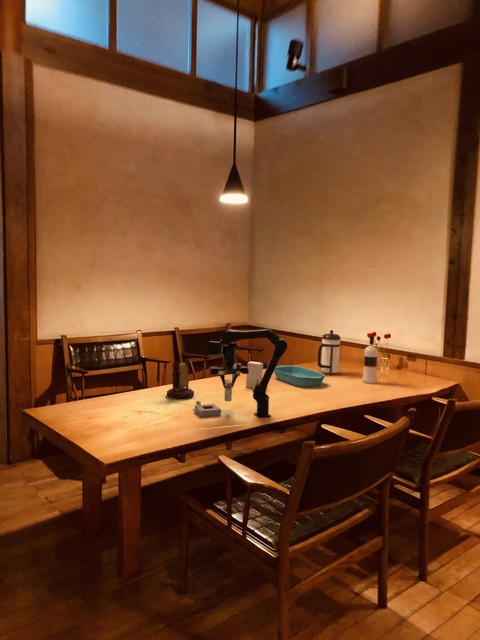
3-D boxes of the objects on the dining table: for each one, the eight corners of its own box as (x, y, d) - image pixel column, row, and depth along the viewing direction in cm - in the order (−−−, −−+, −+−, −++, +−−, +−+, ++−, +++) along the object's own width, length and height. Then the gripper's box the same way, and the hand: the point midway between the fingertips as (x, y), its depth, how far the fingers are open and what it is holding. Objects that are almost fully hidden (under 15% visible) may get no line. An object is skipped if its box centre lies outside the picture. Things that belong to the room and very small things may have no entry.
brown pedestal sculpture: (179, 401, 273) (179, 363, 271) (161, 395, 283) (161, 359, 281) (199, 396, 284) (200, 360, 282) (181, 391, 294) (182, 356, 292)
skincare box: (245, 387, 309) (246, 362, 307) (249, 385, 314) (250, 360, 313) (259, 388, 306) (259, 364, 304) (262, 386, 311) (263, 362, 310)
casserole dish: (331, 386, 319) (331, 374, 318) (302, 390, 307) (303, 378, 306) (293, 374, 350) (294, 364, 349) (266, 377, 338) (267, 366, 337)
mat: (236, 415, 251) (236, 414, 251) (225, 416, 249) (225, 415, 249) (230, 410, 258) (230, 409, 258) (219, 411, 256) (219, 410, 256)
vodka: (360, 382, 330) (363, 335, 327) (363, 380, 338) (366, 334, 335) (375, 384, 326) (377, 337, 323) (378, 381, 334) (380, 335, 331)
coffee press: (316, 370, 364) (318, 328, 361) (340, 372, 362) (342, 329, 358) (317, 375, 347) (319, 331, 343) (341, 377, 345) (343, 332, 341)
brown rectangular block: (230, 398, 257) (230, 379, 256) (232, 402, 249) (233, 383, 248) (223, 398, 256) (223, 379, 255) (225, 402, 249) (226, 383, 248)
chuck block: (220, 416, 248) (221, 409, 248) (200, 418, 244) (201, 411, 244) (207, 405, 266) (207, 398, 266) (188, 407, 263) (188, 400, 262)
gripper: (212, 359, 241) (212, 392, 242) (251, 358, 245) (250, 391, 246) (208, 355, 251) (208, 386, 253) (246, 354, 255) (245, 385, 257)
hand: (228, 387), depth 252 cm, fingers closed on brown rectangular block, 3 cm apart
